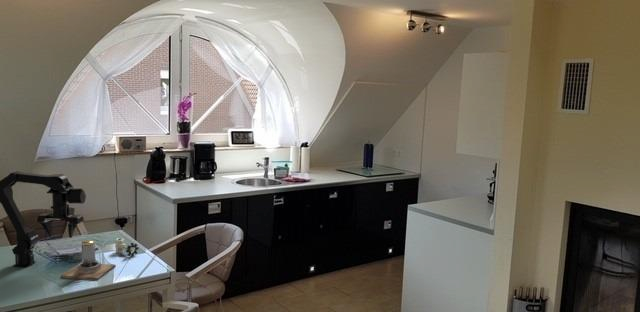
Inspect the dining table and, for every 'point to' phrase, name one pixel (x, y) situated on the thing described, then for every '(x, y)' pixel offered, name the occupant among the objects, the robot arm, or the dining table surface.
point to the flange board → (88, 276)
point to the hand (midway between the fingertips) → (60, 237)
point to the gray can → (88, 253)
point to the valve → (125, 247)
